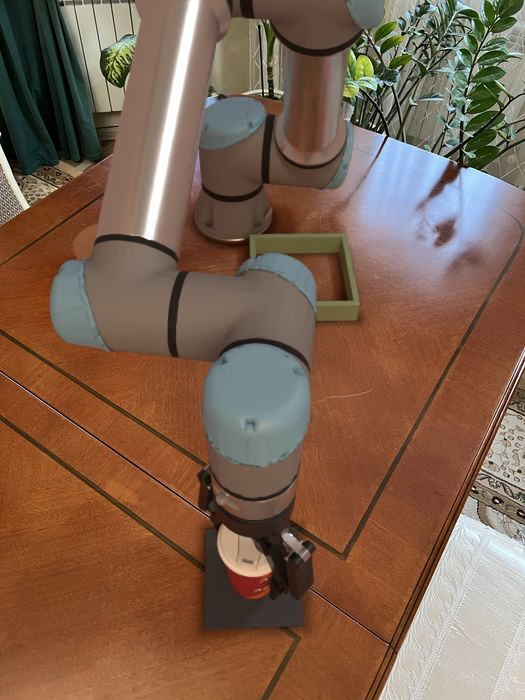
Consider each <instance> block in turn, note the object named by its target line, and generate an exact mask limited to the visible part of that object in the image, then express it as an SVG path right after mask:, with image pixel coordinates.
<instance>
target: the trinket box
mask: <svg viewBox="0 0 525 700" xmlns="http://www.w3.org/2000/svg"><path fill="white" fill-rule="evenodd" d="M97 226H98V222H97V223H94V224H91V225H89V226H87V227H84V228H83V229H82V230H81V231H79V233H78V234H77V235H76V236H75V238H74V239H73V242H72V250H73V254H74V256H75V258H76V260H81V259H83V258H86V259H90V257H91V254H92V250H93V247H94V240H95V235H96V230H97Z"/></svg>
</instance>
